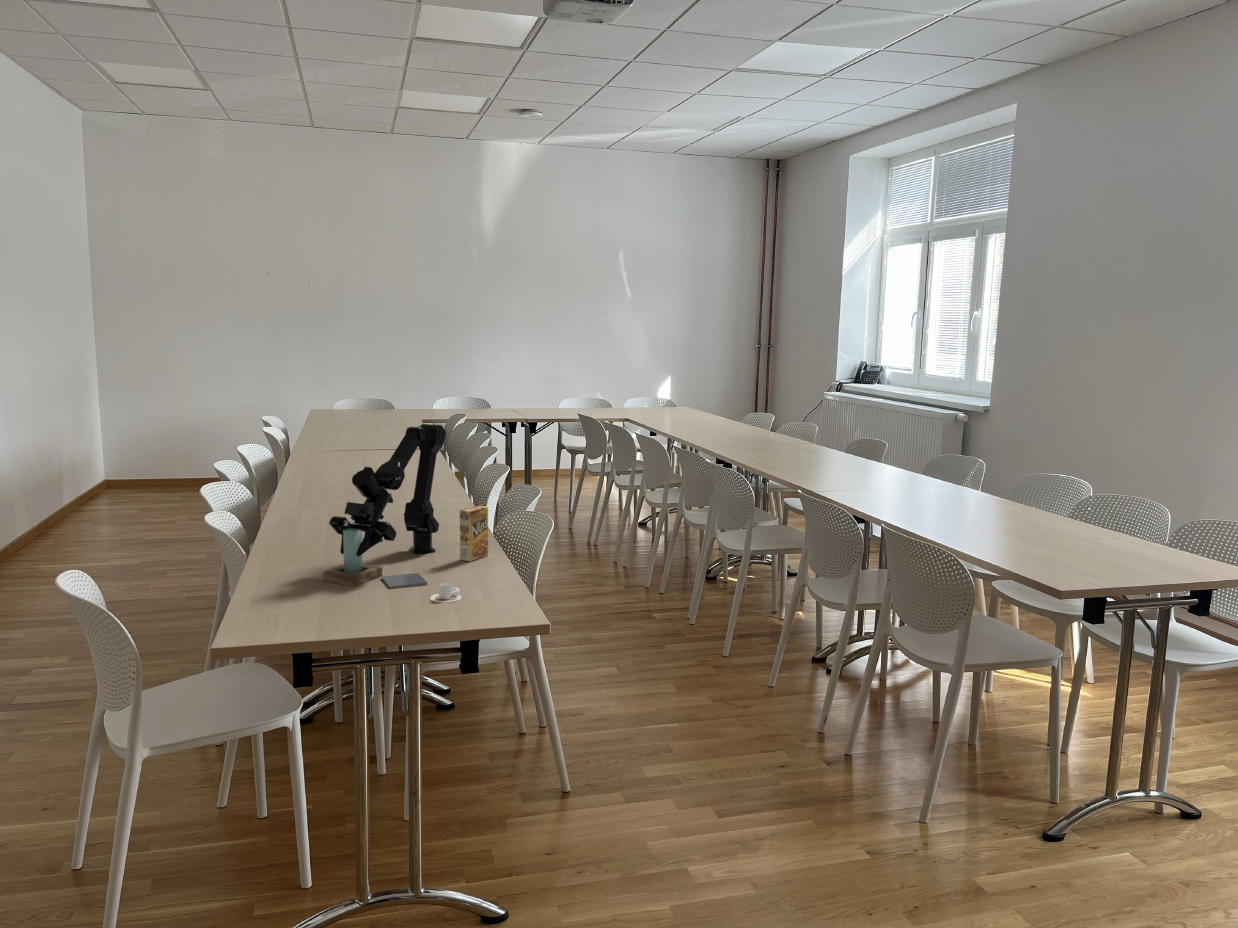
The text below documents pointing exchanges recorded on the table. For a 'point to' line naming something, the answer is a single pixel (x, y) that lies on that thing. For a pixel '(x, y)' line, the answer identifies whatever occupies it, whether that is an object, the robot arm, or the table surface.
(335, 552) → the table surface
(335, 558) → the table surface
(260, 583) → the table surface
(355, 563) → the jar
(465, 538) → the candy box
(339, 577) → the pocket block
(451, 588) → the teacup and saucer
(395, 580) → the coaster
